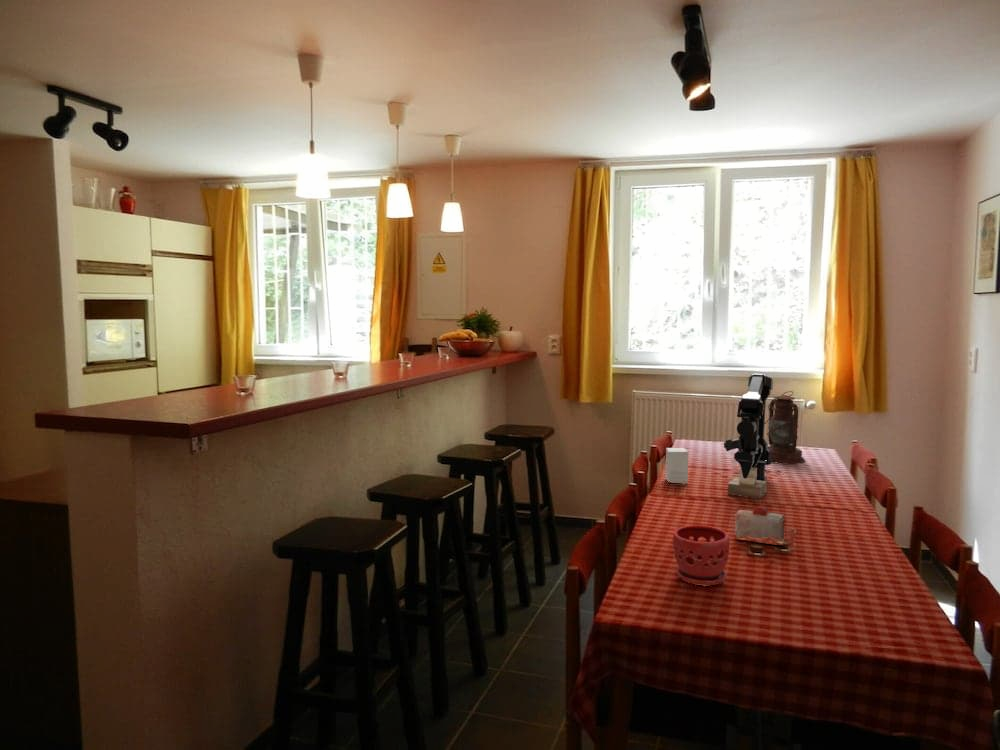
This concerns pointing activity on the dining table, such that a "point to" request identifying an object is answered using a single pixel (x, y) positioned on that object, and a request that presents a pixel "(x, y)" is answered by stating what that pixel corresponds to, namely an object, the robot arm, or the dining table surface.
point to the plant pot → (701, 554)
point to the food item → (759, 524)
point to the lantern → (783, 431)
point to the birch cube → (750, 479)
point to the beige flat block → (747, 488)
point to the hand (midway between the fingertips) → (747, 475)
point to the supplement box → (677, 465)
